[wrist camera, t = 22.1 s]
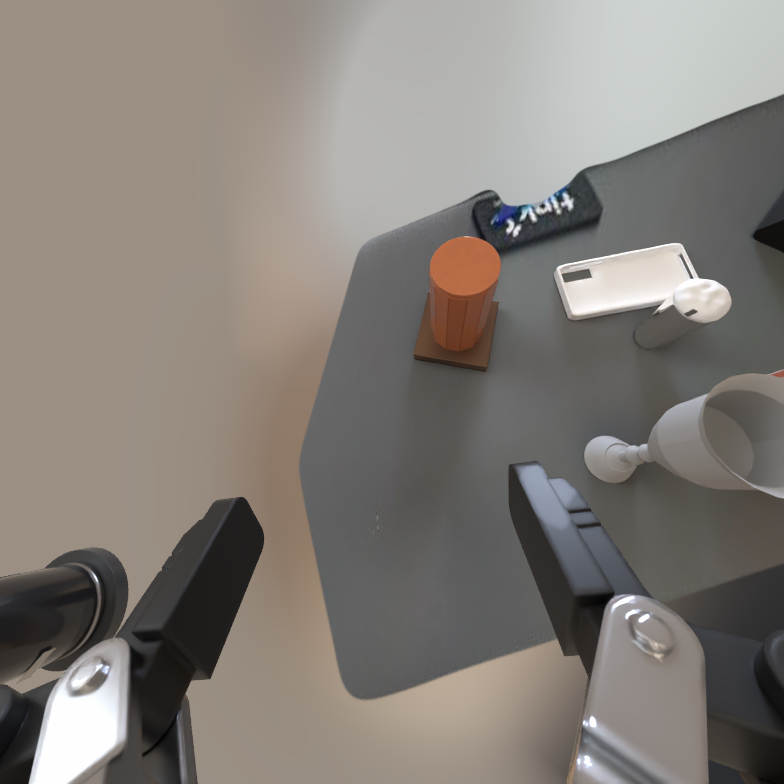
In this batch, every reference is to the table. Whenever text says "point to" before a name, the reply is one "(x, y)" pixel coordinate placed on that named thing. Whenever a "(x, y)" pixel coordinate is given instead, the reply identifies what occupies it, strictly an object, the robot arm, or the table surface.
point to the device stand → (773, 227)
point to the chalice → (710, 439)
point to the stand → (465, 358)
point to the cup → (462, 291)
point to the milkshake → (684, 313)
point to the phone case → (623, 281)
